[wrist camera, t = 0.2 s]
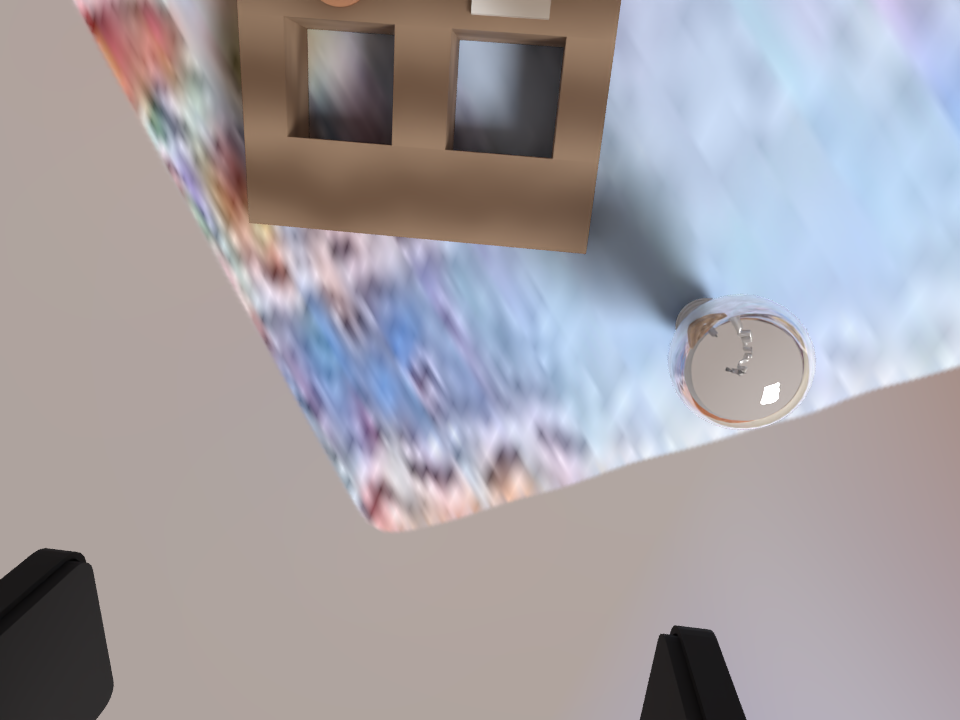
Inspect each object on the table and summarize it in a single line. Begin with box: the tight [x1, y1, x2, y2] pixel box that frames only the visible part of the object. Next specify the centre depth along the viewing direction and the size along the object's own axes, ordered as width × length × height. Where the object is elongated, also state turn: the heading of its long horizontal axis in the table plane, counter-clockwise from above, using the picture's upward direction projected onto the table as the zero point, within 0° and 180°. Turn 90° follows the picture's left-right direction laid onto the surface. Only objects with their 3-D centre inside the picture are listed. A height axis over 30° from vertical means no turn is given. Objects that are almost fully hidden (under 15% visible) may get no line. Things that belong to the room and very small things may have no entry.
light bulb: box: [668, 294, 816, 430], centre depth 33 cm, size 7×7×12 cm
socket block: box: [237, 0, 621, 254], centre depth 34 cm, size 16×20×4 cm
